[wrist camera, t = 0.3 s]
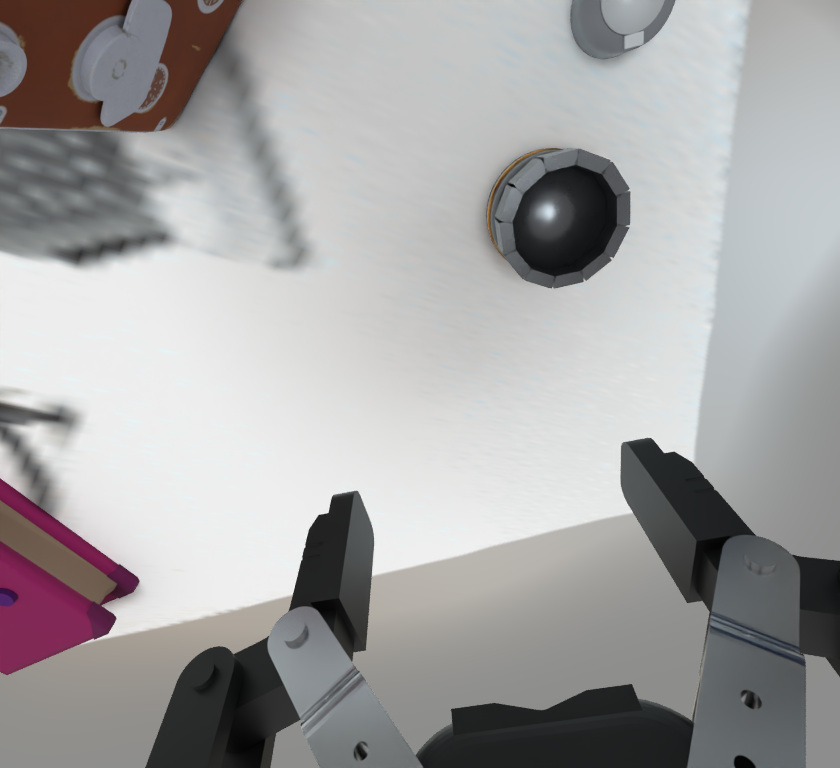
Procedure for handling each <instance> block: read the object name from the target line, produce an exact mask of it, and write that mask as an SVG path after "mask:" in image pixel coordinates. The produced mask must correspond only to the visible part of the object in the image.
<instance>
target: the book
mask: <svg viewBox="0 0 840 768" xmlns="http://www.w3.org/2000/svg"><path fill="white" fill-rule="evenodd" d="M138 583H139V579H138V578H137V577H136V576H135V575H134V574H132V573H131V572H130V571H128V570H127V569H126V568H124V567H123V566H121V565H120V564H119V565H118V564H117V563H115V562H114V561H112V560H111V559H110V558H108V557H107V556H106V555H104V554H103V553H101V552H100V551H99V550H97V549H96V548H95V547H93V546H92V545H91V544H89V543H88V542H86V541H85V540H84V539H82V538H81V537H80V536H78V535H77V534H76V533H74V532H73V531H71V530H70V529H69V528H67V527H66V526H65V525H63V524H62V523H60V522H59V521H58V520H56V519H55V518H54V517H52V516H51V515H50V514H48V513H47V512H45V511H44V510H43V509H41V508H40V507H39V506H37V505H36V504H34V503H33V502H32V501H30V500H29V499H28V498H26V497H25V496H24V495H22V494H21V493H19V492H18V491H17V490H15V489H14V488H13V487H11V486H10V485H9V484H7V483H6V482H4V481H3V480H2V479H0V672H1V673H3V674H6V675H8V674H11V673H13V672H16V671H18V670H20V669H23V668H25V667H27V666H30V665H32V664H34V663H37V662H39V661H41V660H44V659H46V658H48V657H51V656H53V655H55V654H58V653H60V652H63V651H64V650H67V649H69V648H72V647H74V646H77V645H79V644H81V643H84V642H86V641H88V640H91V639H93V638H94V640H95V639H97V638H99V637H102V636H104V635H106V634H108V633H109V631H110V630H111V628H112V626H113V625H114V623H115V621H116V617H115V615H114V614H113V613H111V612H110V611H108V610H106V609H105V608H103V607H102V606H100V605H102V604H105V603H107V602H109V601H111V600H114V599H116V598H121V597H123V596H126V595H128V594H130V593H132V592H134V590H135V588H136V587H137V585H138Z"/></svg>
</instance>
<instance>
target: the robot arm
mask: <svg viewBox="0 0 840 768" xmlns="http://www.w3.org/2000/svg"><path fill="white" fill-rule="evenodd" d="M621 487H622V491H623V494H624V497H625V499H626V501H627V503H628V505H629V506H630V508H631V510H632V511H633V513H634V515H635V516H636V518H637V520H638V521H639V523H640V525H641V526H642V528H643V530H644V531H645V533H646V535H647V536H648V538H649V540H650V541H651V543H652V545H653V546H654V548H655V550H656V551H657V553H658V555H659V557H660V558H661V560H662V561H663V563H664V565H665V567H666V568H667V570H668V572H669V573H670V575H671V577H672V578H673V580H674V582H675V583H676V585H677V587H678V588H679V590H680V592H681V593H682V595H683V596H684V598H685V600H686V602H687V603H690V602H697V601H703V602H704V603H705V605H706V606H707V608H708V610H709V611H710V613H709V618H708V624H707V631H706V636H705V643H704V649H703V654H702V660H701V666H700V672H699V678H698V684H697V689H696V695H695V701H694V706H693V712H692V717H691V720H689V719H688V718H686V717H685V716H683V715H681V714H680V713H678V712H676V711H674V710H672V709H670V708H667V707H665V706H662V705H660V704H657V703H654V702H650V701H647V700H642V699H638V698H637V696H636V693H635V691H634V688H633V686H632V684H629V685H622V686H615V687H607V688H600V689H593V690H586V691H584V692H582V693H580V694H578V695H576V696H574V697H571V698H569V699H567V700H565V701H563V702H561V703H559V704H557V705H555V706H553V707H551V708H549V709H546V710H534V709H528V708H522V707H515V706H510V705H503V704H496V703H492V704H484V705H477V706H470V707H462V708H455V709H451V712H452V724H450V725H448V726H446V727H444V728H443V729H441V730H440V731H439V732H437V733H436V734H435V735H433V736H432V737H431V738H430V739H429V740H428V741H427V742H426V743H425V744H424V745H423V747H422V748H421V749H420V750H419V751H418V753H417V754H416V756H415V754H414V753H413V751H412V750H411V748H410V747H409V745H408V743H407V742H406V741H405V739H404V737H403V736H402V734H401V733H400V731H399V730H398V729H397V727H396V726H395V724H394V722H393V721H392V719H391V718H390V717H389V715H388V713H387V712H386V710H385V709H384V707H383V706H382V704H381V703H380V701H379V700H378V698H377V697H376V695H375V694H374V692H373V691H372V689H371V688H370V686H369V685H368V683H367V682H366V680H365V679H364V678H363V676H362V674H361V673H360V672H359V671H358V670H357V669H356V667H355V666H354V665H353V663H352V659H353V652H358V651H364V650H366V640H367V627H368V615H369V614H368V613H369V602H370V589H371V577H372V564H373V551H374V534H373V529H372V525H371V522H370V519H369V517H368V514H367V512H366V509H365V507H364V504H363V502H362V499H361V496H360V494H359V492H358V491H352V492H347V493H342V494H336V495H333V496H332V499H331V504H330V509H329V513H327V514H322V515H318V517H317V518H316V520H315V521H314V523H313V524H312V526H311V527H310V529H309V532H308V536H307V540H306V544H305V545H306V548H304V552H303V556H302V558H303V560H302V561H301V564H300V568H299V572H298V577H297V581H296V585H295V589H294V593H293V597H292V601H291V605H290V609H289V611H288V612H287V613H286V614H285V615H283V616H282V617H281V618H280V619H279V620H278V621H277V622H276V624H275V625H274V627H273V629H272V630H271V633H270V635H269V636H268V637H267V638H265V639H263V640H262V641H260V642H258V643H256V644H254V645H252V646H250V647H248V648H246V649H244V650H242V651H240V652H237V653H235V654H233V653H232V652H231V651H230V650H229V649H227V648H225V647H220V646H218V647H213V648H210V649H207V650H205V651H203V652H202V653H200V654H199V655H197V656H196V657H195V658H194V659H193V660H192V661H191V662H190V663H189V664H188V665H187V666H186V667H185V669H184V670H183V672H182V673H181V675H180V677H179V679H178V681H177V683H176V686H175V689H174V692H173V694H172V697H171V700H170V703H169V705H168V708H167V711H166V713H165V716H164V719H163V721H162V724H161V727H160V730H159V732H158V735H157V738H156V740H155V743H154V746H153V749H152V751H151V754H150V757H149V759H148V762H147V765H146V767H145V768H270V766H271V760H272V754H273V748H274V742H275V736H276V733H277V732H279V731H280V730H282V729H284V728H286V727H288V726H290V725H291V724H293V723H295V722H297V721H299V720H301V721H302V723H301V727H302V730H303V733H304V735H305V737H306V740H307V742H308V744H309V746H310V748H311V750H312V752H313V754H314V756H315V759H316V761H317V763H318V765H319V767H320V768H806V662H805V657H804V655H803V654H808V655H814V656H820V657H826V659H827V660H828V661H829V663H830V664H831V666H832V667H833V668H834V670H835V671H836V672H837V674H838V675H839V676H840V561H835V560H826V559H817V558H807V557H800V556H795V555H791V554H790V553H789V552H788V551H787V550H786V549H784V548H783V547H782V546H780V545H779V544H777V543H775V542H773V541H771V540H768V539H766V538H763V537H759V536H756V535H755V534H754V533H753V532H752V531H751V530H750V529H749V527H748V526H747V525H746V524H745V523H744V522H743V520H742V519H741V518H740V517H739V516H738V515H737V514H736V512H735V511H734V510H733V509H732V508H731V507H730V505H729V504H728V503H727V502H726V501H725V500H724V499H723V498H722V496H721V495H720V494H719V493H718V492H717V491H716V490H714V487H713V486H712V485H711V484H710V482H709V481H708V480H707V479H705V478H704V476H703V475H702V473H701V472H700V471H699V470H698V469H697V467H696V466H695V465H694V464H693V463H692V462H691V461H689V460H687V459H686V458H684V457H682V456H681V455H679V454H677V453H676V452H670V453H663V451H662V450H661V449H660V448H659V446H658V445H657V444H656V443H655V442H654V440H653V439H651V438H645V439H639V440H634V441H628V442H623V443H622V446H621ZM801 653H803V654H801Z"/></svg>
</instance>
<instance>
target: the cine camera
mask: <svg viewBox="0 0 840 768" xmlns="http://www.w3.org/2000/svg"><path fill="white" fill-rule="evenodd" d="M241 1H242V0H0V128H1V129H35V130H69V131H103V132H154V131H162V130H165V129H168V128H170V127H171V126H172V125H173V123H174V122H175V121H176V119H177V118H178V116H179V115H180V113H181V112H182V110H183V108H184V106H185V104H186V103H187V101H188V99H189V97H190V95H191V93H192V92H193V90H194V88H195V86H196V84H197V82H198V80H199V79H200V77H201V75H202V73H203V71H204V69H205V68H206V66H207V64H208V62H209V60H210V58H211V57H212V55H213V53H214V51H215V49H216V47H217V46H218V44H219V42H220V40H221V38H222V36H223V34H224V33H225V31H226V29H227V27H228V25H229V23H230V22H231V20H232V18H233V16H234V14H235V12H236V11H237V9H238V7H239V5H240V3H241Z"/></svg>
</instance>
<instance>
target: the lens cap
mask: <svg viewBox="0 0 840 768" xmlns="http://www.w3.org/2000/svg"><path fill="white" fill-rule="evenodd" d="M674 3H675V0H573V1H572V6H571V28H572V32H573V35H574V38H575V40H576V42H577V44H578V45H579V47H580V48H581V49H582V50H583V51H584V52H585V53H587V54H588V55H590V56H592V57H595V58H600V59H607V58H612V57H615V56H618V55H620V54H623V53H625V52H628V51H630V50H633V49H635V48H638V47H640V46H642V45H643V44H645V43H646V42H648V41H649V40H650V39H652V38H653V37H654V36H655V35H656V34H657V33H658V32H659V31H660V29H661V28H662V27H663V25H664V24H665V22H666V21H667V19H668V17H669V15H670V13H671V11H672V8H673V6H674Z"/></svg>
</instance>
